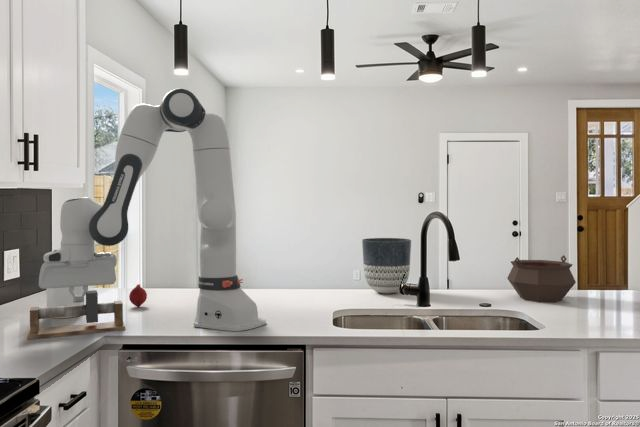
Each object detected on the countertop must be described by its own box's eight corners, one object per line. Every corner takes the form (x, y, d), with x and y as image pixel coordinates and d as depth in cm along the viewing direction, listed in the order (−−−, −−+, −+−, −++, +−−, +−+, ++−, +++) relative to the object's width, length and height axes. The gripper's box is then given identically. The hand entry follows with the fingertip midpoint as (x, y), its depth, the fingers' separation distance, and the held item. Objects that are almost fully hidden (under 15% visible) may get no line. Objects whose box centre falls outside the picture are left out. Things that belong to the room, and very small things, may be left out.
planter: (409, 289, 228) (409, 238, 228) (412, 297, 209) (412, 241, 208) (362, 288, 230) (362, 237, 230) (361, 296, 211) (361, 241, 210)
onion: (141, 308, 189) (141, 285, 189) (126, 308, 190) (125, 285, 190) (149, 305, 194) (149, 283, 194) (135, 305, 196) (134, 282, 195)
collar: (97, 317, 162) (96, 290, 162) (98, 322, 156) (97, 293, 156) (86, 318, 161) (85, 290, 160) (86, 323, 155) (86, 294, 155)
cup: (91, 312, 183) (91, 257, 182) (68, 319, 172) (67, 261, 172) (63, 310, 186) (62, 256, 185) (38, 317, 175) (37, 260, 174)
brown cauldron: (536, 307, 190) (536, 260, 190) (493, 295, 213) (494, 253, 213) (590, 302, 198) (591, 257, 197) (544, 292, 220) (544, 251, 220)
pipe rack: (122, 324, 166) (122, 299, 165) (125, 329, 158) (124, 304, 158) (29, 332, 155) (29, 306, 155) (27, 339, 148) (27, 311, 148)
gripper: (115, 251, 164) (116, 297, 164) (39, 254, 155) (39, 303, 155) (117, 253, 158) (118, 300, 158) (37, 256, 149) (38, 307, 150)
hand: (78, 301), depth 157 cm, fingers closed
